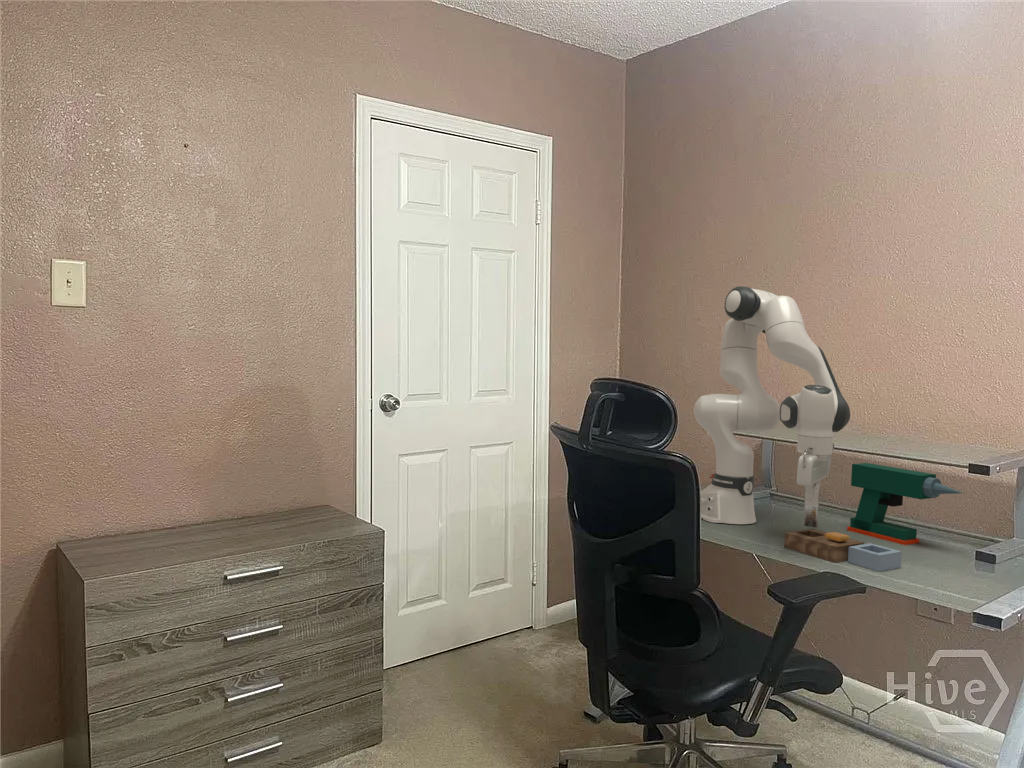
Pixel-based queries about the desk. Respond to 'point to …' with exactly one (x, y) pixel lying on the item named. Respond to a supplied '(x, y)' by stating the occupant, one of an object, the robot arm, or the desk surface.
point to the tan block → (837, 537)
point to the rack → (874, 557)
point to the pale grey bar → (812, 508)
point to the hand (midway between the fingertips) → (812, 497)
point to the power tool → (890, 499)
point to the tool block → (819, 545)
